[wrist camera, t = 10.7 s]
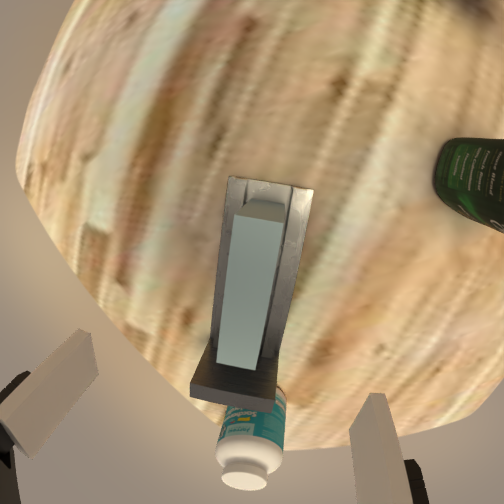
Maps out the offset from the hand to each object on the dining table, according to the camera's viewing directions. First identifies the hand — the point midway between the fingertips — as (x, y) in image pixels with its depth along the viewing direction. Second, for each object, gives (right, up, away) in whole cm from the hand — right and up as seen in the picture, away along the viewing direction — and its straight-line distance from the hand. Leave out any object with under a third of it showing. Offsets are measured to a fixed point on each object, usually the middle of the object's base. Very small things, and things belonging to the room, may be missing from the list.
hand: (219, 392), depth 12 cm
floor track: (+2, +3, +18) cm, 19 cm away
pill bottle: (+2, -13, +24) cm, 27 cm away
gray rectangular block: (+2, +5, +17) cm, 18 cm away
